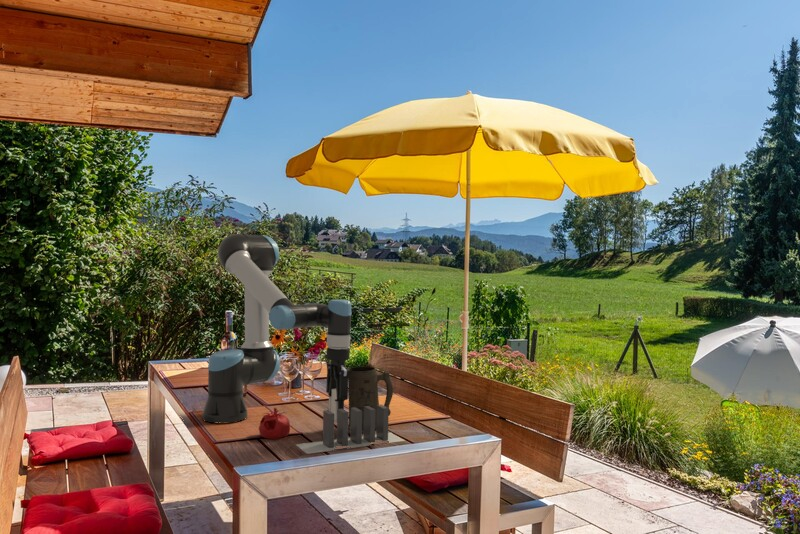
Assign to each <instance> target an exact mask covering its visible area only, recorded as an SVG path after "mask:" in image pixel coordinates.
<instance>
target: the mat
mask: <svg viewBox="0 0 800 534" xmlns="http://www.w3.org/2000/svg"><path fill="white" fill-rule="evenodd" d="M375 440H381V439H379V438H378V437H376V433H375ZM382 441H383V440H382ZM386 441H389V443H388V444H391V443H397V442H405V441H406V440H405V439H403V438H401V437H399V436H397V434H393V433H392V432H388V440H386ZM369 443H370V442H368V441H367V440H365V439H364V438H363V435H362V444H355V443H354V442H352V441H351V440H350V437H348V446H349V448H348V449H353V448H361V447H369ZM295 445H296V446H297V447H298V448H299V449H301V451H303V452H304V453H305V454H307V455H308V454H309V455H310V454H316V453H323V452H324V453H325V452H332V450H333V451H335V450H334V449H335V448H337V447H336V446H342V445H340V444H339V443H338V442H337V438H336V439H335V438H334V447H335V448H334V447H333V448H328V447H327V446H325V445H324V444H323V440H322V441H312V442H303V443H296V444H295ZM342 447H343V446H342ZM346 447H347V446H346ZM350 447H351V448H350Z"/></svg>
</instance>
